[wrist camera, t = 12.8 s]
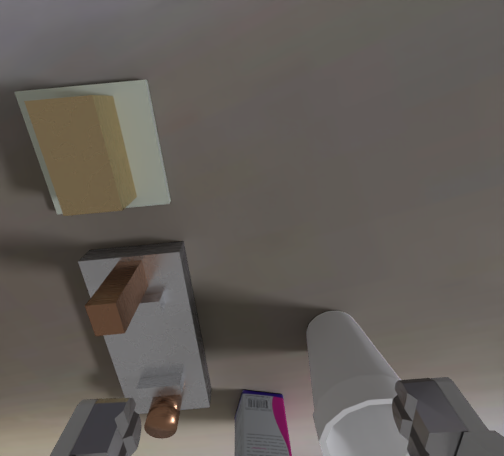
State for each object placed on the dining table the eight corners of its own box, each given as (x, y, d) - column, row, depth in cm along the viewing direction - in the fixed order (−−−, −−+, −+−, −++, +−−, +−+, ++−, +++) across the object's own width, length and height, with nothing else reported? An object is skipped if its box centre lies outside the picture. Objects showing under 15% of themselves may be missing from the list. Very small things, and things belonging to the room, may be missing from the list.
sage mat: (20, 91, 26) (14, 91, 26) (147, 80, 26) (144, 79, 26) (61, 211, 31) (57, 214, 30) (170, 201, 31) (169, 203, 30)
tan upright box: (54, 101, 26) (24, 101, 22) (112, 95, 26) (92, 94, 22) (85, 201, 30) (63, 215, 26) (137, 196, 30) (122, 210, 26)
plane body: (89, 250, 32) (33, 305, 24) (183, 241, 32) (162, 293, 24) (137, 397, 41) (108, 478, 32) (211, 390, 41) (204, 468, 32)
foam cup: (383, 333, 38) (449, 439, 26) (323, 371, 40) (359, 485, 28) (340, 285, 35) (393, 380, 23) (278, 328, 37) (297, 436, 25)
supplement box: (233, 418, 43) (232, 521, 33) (242, 388, 41) (243, 488, 30) (273, 422, 44) (284, 525, 33) (284, 393, 42) (299, 492, 31)
